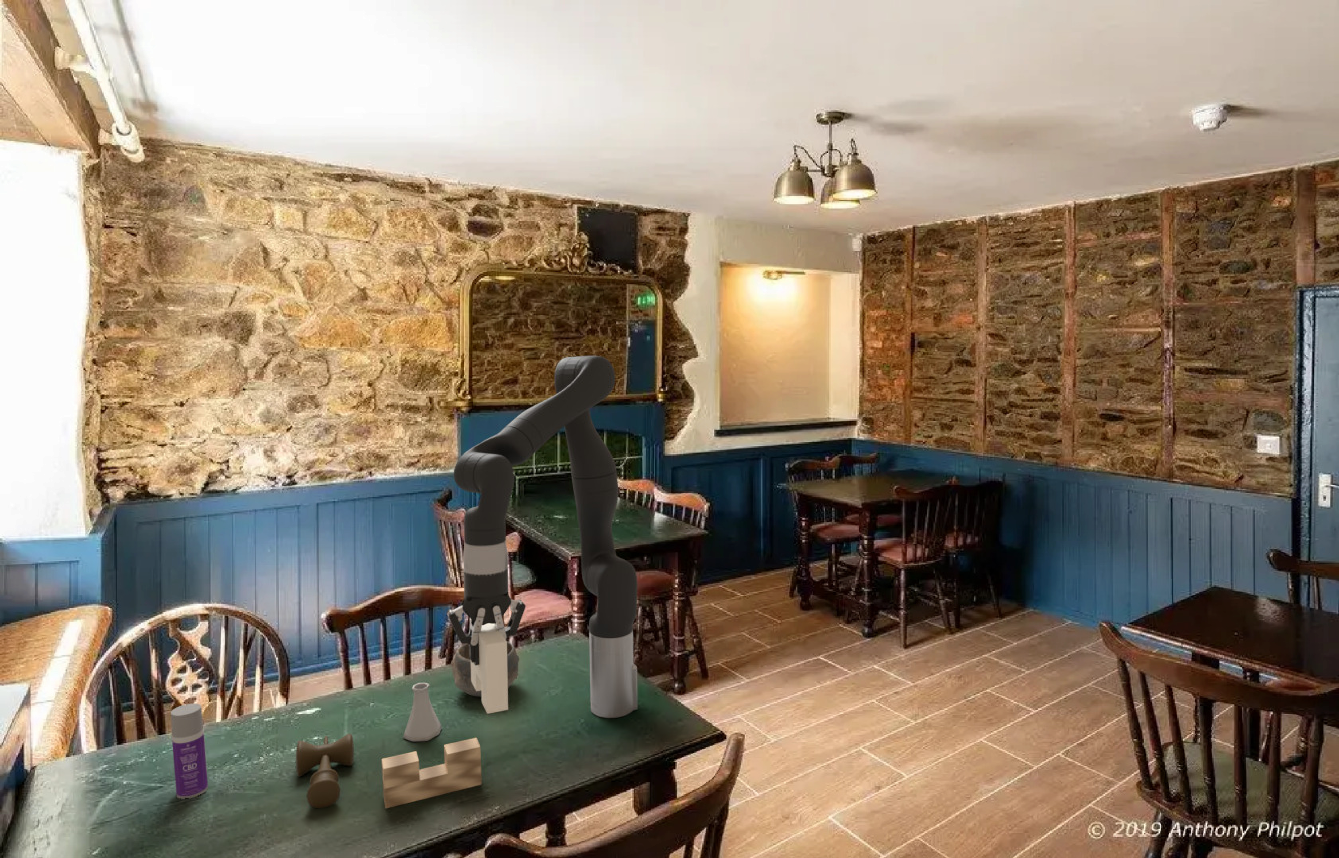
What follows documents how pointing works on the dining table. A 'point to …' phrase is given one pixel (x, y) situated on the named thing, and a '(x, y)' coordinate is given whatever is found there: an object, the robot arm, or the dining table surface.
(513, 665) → the bowl
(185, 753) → the container
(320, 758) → the kendama
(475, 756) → the oak base
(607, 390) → the robot arm
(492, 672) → the white rectangular block
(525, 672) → the dining table surface
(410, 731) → the flask
